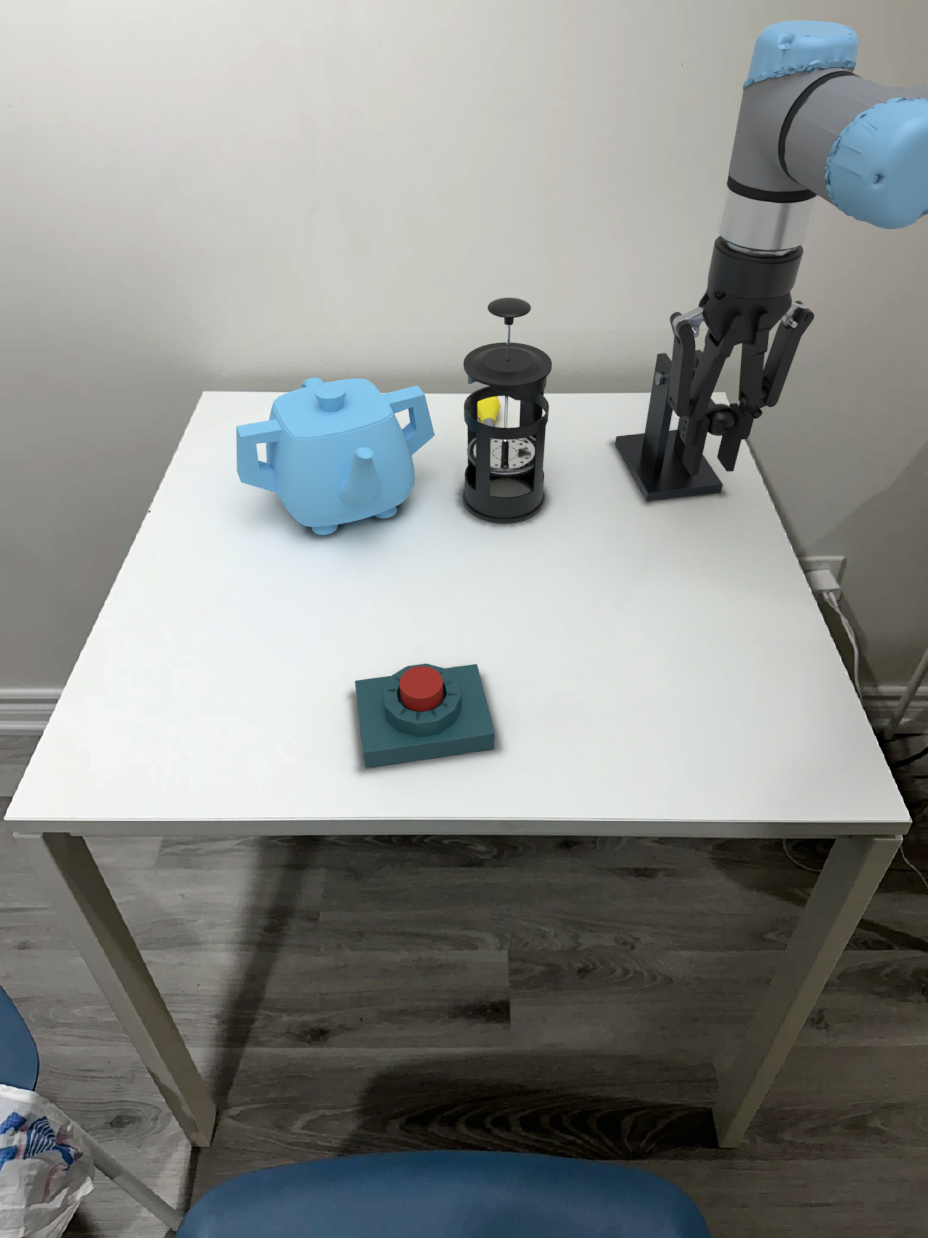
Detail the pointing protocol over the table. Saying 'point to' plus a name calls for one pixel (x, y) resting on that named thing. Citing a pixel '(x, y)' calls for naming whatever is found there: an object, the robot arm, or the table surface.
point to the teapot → (336, 451)
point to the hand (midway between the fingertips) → (707, 465)
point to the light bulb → (488, 410)
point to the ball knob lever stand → (664, 448)
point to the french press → (506, 448)
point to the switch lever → (719, 416)
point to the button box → (423, 719)
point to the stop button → (421, 688)
